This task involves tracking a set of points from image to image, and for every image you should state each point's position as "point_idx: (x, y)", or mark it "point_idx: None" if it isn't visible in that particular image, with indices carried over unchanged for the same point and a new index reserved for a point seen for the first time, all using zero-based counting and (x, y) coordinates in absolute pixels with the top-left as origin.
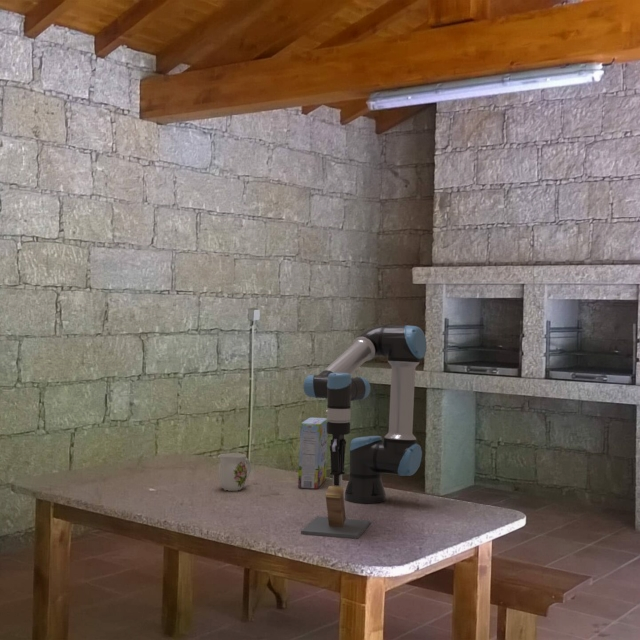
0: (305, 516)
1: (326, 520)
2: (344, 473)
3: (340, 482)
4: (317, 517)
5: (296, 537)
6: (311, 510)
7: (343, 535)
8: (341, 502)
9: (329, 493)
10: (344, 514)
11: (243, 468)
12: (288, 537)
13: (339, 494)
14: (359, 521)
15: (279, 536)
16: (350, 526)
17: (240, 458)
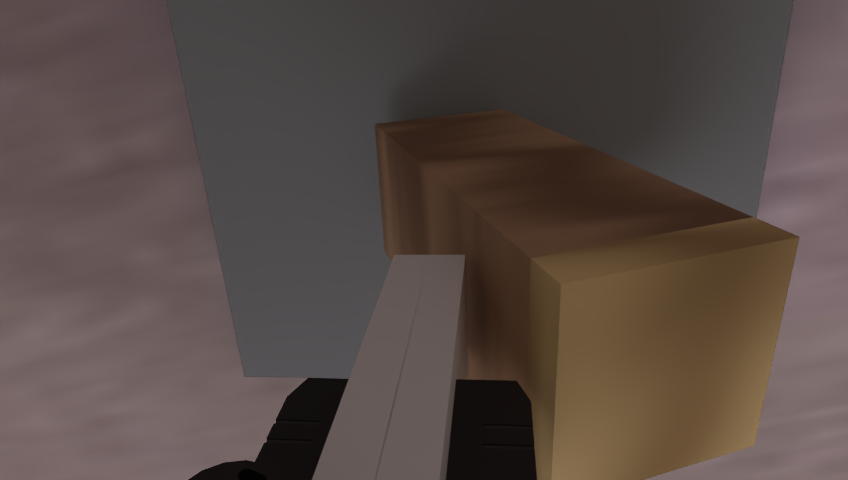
0: (210, 444)
1: (335, 289)
2: (225, 474)
3: (450, 389)
4: (273, 368)
5: (826, 376)
6: (39, 445)
7: (785, 23)
8: (607, 185)
9: (737, 407)
10: (425, 135)
11: None
12: (833, 422)
13: (777, 248)
14: (238, 9)
15: (812, 476)
16: (460, 42)
17: None
